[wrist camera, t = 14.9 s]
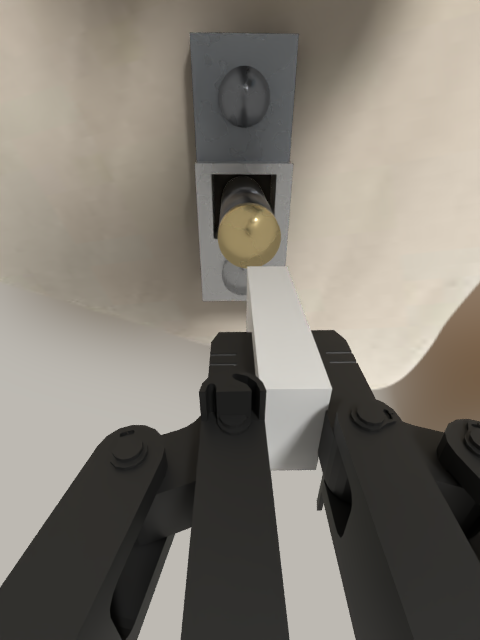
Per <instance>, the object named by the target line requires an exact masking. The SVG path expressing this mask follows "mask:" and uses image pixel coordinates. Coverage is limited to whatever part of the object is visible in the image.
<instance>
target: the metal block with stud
mask: <svg viewBox="0 0 480 640" xmlns="http://www.w3.org/2000/svg"><path fill="white" fill-rule="evenodd" d="M298 38H299V34H270V33H191V32H190V48H191V66H192V84H193V102H194V120H195V138H196V156H197V161H196V163H195V177H196V194H197V211H198V228H199V246H200V263H201V280H202V297H203V301H247V268H241V267H237V266H235V265H233V264H232V263H230V262H229V261H228V260H227V259H226V258H225V257H224V256H223V254H222V253H221V251H220V248H219V244H218V229H219V227H215V207H214V177H213V174H271V190H270V208H271V210H272V212H273V214H274V216H275V218H276V220H277V222H278V225H279V227H280V231H281V242H280V246H279V249H278V251H277V253H276V254H275V256H274V257H273V258H272V259H271V260H270V261H269V262H268V263H266V264H264V265H262V266H285V264H286V251H287V238H288V225H289V213H290V200H291V187H292V174H293V163H292V162H290V148H291V134H292V120H293V106H294V93H295V79H296V65H297V51H298Z"/></svg>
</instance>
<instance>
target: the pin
mask: <svg viewBox="0 0 480 640" xmlns="http://www.w3.org/2000/svg"><path fill="white" fill-rule="evenodd" d="M280 242H281V231H280V227H279V225H278V222H277V220H276V218H275V216H274V214H273V212H272V210H271V208H270V206H269V204H268V202H267V200H266V197H265V195H264V193H263V191H262V189H261V187H260V186H259V184H258V183H257V182H256V181H255V180H254V179H252V178H250V177H246V176H239V177H235V178H233V179H232V180H230V181H229V182H228V183H227V184H226V185H225V187H224V189H223V192H222V199H221V209H220V219H219V229H218V244H219V248H220V251H221V253H222V254H223V256H224V257H225V258H226V259H227V260H228V261H229V262H230V263H232V264H233V265H235V266H237V267H241V268H247V266H262V265H264V264H266V263H268V262H269V261H270V260H271V259H272V258H273V257H274V256H275V254H276V253H277V251H278V249H279V246H280Z"/></svg>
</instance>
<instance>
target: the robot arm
mask: <svg viewBox="0 0 480 640" xmlns="http://www.w3.org/2000/svg"><path fill="white" fill-rule="evenodd" d="M199 397H200V410H201V416H200V417H199V418H198V419H197V420H196V421H195V422H194V423H192V424H190V425H189V426H187V427H185V428H182V429H180V430H177V431H174V432H170V433H167V434H163V435H160V434H159V433H158V432H157V431H156V430H155V429H153V428H150V427H148V426H145V425H131V426H128V427H124V428H120V429H118V430H117V431H115V432H113V433H111V434H110V435H108V436H107V437H106V438H105V439H104V440H103V441H102V442H101V443H100V444H99V445H98V446H97V448H96V449H95V451H94V452H93V454H92V455H91V457H90V458H89V460H88V461H87V462H86V464H85V465H84V467H83V468H82V470H81V471H80V472H79V474H78V475H77V477H76V478H75V480H74V481H73V483H72V484H71V485H70V487H69V489H68V490H67V491H66V493H65V494H64V496H63V497H62V499H61V500H60V501H59V503H58V505H57V506H56V507H55V509H54V510H53V512H52V513H51V515H50V516H49V517H48V519H47V520H46V522H45V523H44V525H43V526H42V528H41V529H40V530H39V532H38V534H37V535H36V536H35V538H34V539H33V541H32V542H31V544H30V545H29V546H28V548H27V549H26V551H25V552H24V554H23V555H22V557H21V558H20V559H19V561H18V563H17V564H16V565H15V567H14V568H13V570H12V571H11V573H10V574H9V575H8V577H7V578H6V580H5V581H4V583H3V584H2V586H1V587H0V640H137V638H138V635H139V633H140V630H141V627H142V624H143V622H144V619H145V616H146V613H147V610H148V608H149V605H150V602H151V599H152V597H153V594H154V591H155V588H156V585H157V583H158V580H159V577H160V574H161V572H162V569H163V566H164V563H165V560H166V557H167V555H168V552H169V549H170V547H171V544H172V541H173V538H174V535H175V533H178V532H180V531H182V530H185V529H188V528H190V527H191V537H190V548H189V559H188V570H187V579H186V590H185V600H184V611H183V622H182V633H181V640H289V632H288V622H287V614H286V605H285V597H284V588H283V578H282V569H281V561H280V551H279V542H278V534H277V525H276V516H275V507H274V498H273V489H272V480H271V471H272V470H316V466H317V462H318V457H319V460H320V464H321V468H322V471H323V476H322V481H321V485H320V489H319V494H318V498H317V510H322V507H323V503H324V506H325V510H326V515H327V519H328V523H329V527H330V532H331V536H332V540H333V545H334V549H335V553H336V557H337V562H338V566H339V570H340V574H341V578H342V582H343V587H344V591H345V596H346V600H347V604H348V608H349V612H350V617H351V621H352V625H353V629H354V634H355V638H356V640H480V422H479V421H475V420H470V419H460V420H455V421H453V422H451V423H449V424H448V426H447V428H446V430H445V432H444V433H443V432H439V431H435V430H431V429H426V428H422V427H418V426H414V425H411V424H408V423H405V422H403V421H402V420H401V419H400V417H399V416H398V415H397V414H396V412H395V411H394V410H393V409H392V408H390V407H389V406H388V405H386V404H385V403H383V402H381V401H379V400H376V399H375V397H374V395H373V393H372V391H371V389H370V387H369V385H368V383H367V381H366V379H365V377H364V375H363V373H362V371H361V369H360V367H359V365H358V363H356V359H355V357H354V355H353V354H352V353H351V349H350V347H349V345H348V343H347V341H346V340H345V339H344V338H343V337H342V336H340V335H339V334H338V333H337V332H336V331H334V330H310V327H309V324H308V321H307V319H306V316H305V313H304V310H303V308H302V305H301V302H300V300H299V297H298V294H297V291H296V289H295V286H294V283H293V281H292V278H291V275H290V272H289V270H288V267H287V266H247V313H246V332H219V333H218V334H217V336H216V337H215V338H214V339H213V341H212V342H211V352H210V366H209V375H208V378H207V379H206V380H205V381H204V382H203V383H202V386H201V389H200V391H199Z"/></svg>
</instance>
